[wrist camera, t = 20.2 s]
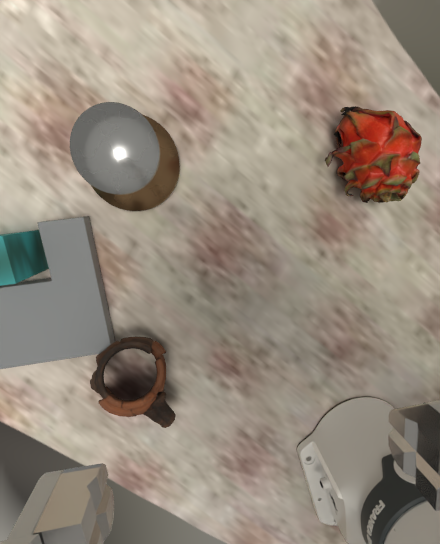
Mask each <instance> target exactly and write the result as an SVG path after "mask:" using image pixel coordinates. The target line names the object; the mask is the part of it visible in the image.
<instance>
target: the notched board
mask: <svg viewBox="0 0 440 544" xmlns="http://www.w3.org/2000/svg"><path fill="white" fill-rule="evenodd" d="M37 223H38V227H39V231H40V235H41V239H42V243H43V247H44V251H45V255H46V259H47V263H48V267H49V271H50V275H51V278H48V279H40V280H33V281H25V282H18V283H16V284H9V285H2V286H0V369H4V368H11V367H17V366H24V365H30V364H37V363H43V362H50V361H56V360H63V359H69V358H76V357H82V356H88V355H95V354H100V353H101V352H103V351H104V350H105V349H106V348H107V347H109V346H110V345H111V344H112V343H114V342H115V338H114V333H113V328H112V324H111V319H110V314H109V309H108V304H107V300H106V295H105V290H104V285H103V281H102V276H101V271H100V266H99V261H98V257H97V252H96V247H95V242H94V238H93V233H92V228H91V223H90V218H89V217H80V218H72V219H63V220H54V221H45V222H37Z"/></svg>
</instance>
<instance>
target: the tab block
mask: <svg viewBox="0 0 440 544" xmlns="http://www.w3.org/2000/svg"><path fill="white" fill-rule="evenodd" d="M47 269H49V267H48V263H47V259H46V255H45V251H44V247H43V243H42V240H41V236H40V232H39V230H35V231H27V232H19V233H10V234H2V235H0V286H2V285H9V284H16V283H18V282H21V281H23V280H25V279H27V278H29V277H31V276H34V275H36V274H38V273H40V272H42V271H45V270H47Z"/></svg>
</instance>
